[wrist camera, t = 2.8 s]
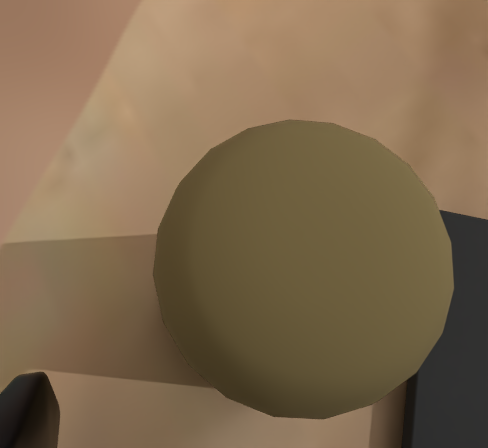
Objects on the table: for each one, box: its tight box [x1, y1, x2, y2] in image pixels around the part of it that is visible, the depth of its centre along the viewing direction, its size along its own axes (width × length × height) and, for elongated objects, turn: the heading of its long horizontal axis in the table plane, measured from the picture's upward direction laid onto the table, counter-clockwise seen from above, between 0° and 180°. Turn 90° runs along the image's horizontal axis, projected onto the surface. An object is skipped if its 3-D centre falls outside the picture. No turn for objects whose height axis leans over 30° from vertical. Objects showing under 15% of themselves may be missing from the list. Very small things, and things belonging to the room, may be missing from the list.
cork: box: [153, 120, 454, 419], centre depth 12 cm, size 6×6×11 cm
